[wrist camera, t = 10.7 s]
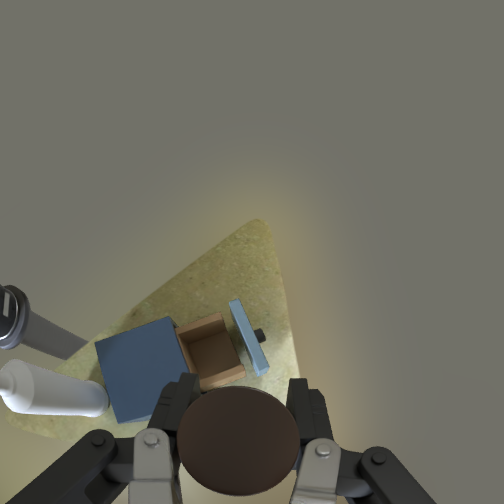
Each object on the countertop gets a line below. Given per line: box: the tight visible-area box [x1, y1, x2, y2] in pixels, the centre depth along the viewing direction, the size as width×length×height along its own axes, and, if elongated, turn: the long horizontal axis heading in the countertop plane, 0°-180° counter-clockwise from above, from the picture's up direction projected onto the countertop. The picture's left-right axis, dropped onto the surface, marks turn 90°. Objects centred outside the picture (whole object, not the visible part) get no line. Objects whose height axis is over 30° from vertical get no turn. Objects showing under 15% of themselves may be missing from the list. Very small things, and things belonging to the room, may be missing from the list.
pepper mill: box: [176, 386, 300, 496], centre depth 14 cm, size 4×4×13 cm
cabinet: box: [95, 316, 208, 424], centre depth 31 cm, size 9×9×8 cm
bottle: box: [0, 359, 109, 417], centre depth 22 cm, size 5×5×25 cm
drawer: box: [175, 298, 269, 393], centre depth 33 cm, size 10×8×7 cm
